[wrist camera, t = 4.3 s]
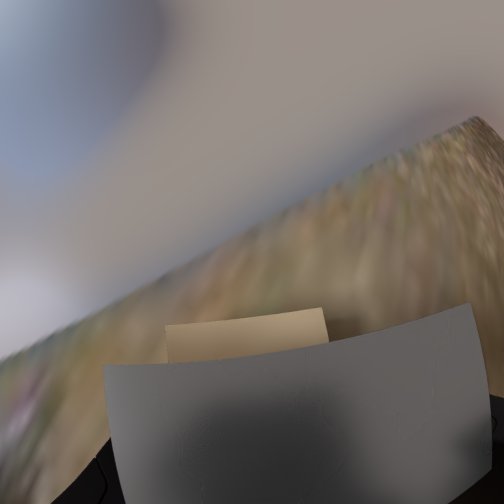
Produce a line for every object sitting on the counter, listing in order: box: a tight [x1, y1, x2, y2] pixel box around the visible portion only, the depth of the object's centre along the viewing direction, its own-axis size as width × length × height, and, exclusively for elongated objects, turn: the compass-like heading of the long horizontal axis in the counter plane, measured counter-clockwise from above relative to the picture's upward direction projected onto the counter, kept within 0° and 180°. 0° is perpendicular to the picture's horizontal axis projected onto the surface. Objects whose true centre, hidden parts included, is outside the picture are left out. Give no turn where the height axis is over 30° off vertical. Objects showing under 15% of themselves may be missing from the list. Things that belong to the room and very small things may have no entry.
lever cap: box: [103, 302, 492, 504], centre depth 6 cm, size 4×5×9 cm
